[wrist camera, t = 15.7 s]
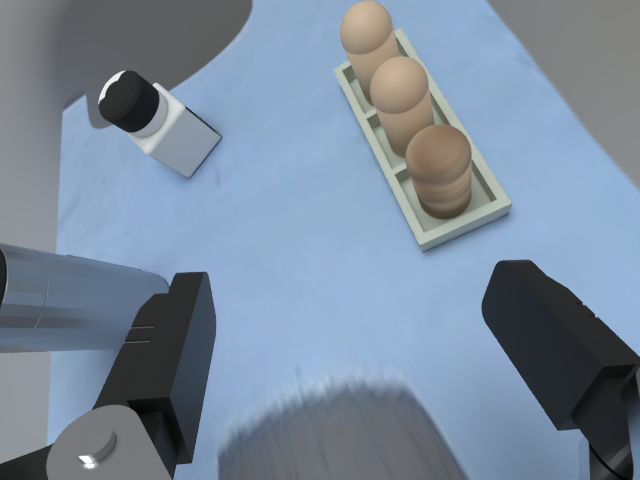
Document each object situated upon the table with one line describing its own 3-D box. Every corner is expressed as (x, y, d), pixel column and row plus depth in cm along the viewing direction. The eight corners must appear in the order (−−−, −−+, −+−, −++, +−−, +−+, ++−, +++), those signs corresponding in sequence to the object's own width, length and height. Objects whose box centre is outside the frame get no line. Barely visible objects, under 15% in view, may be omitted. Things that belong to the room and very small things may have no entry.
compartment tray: (508, 213, 31) (527, 158, 22) (423, 252, 33) (405, 217, 23) (404, 47, 39) (384, -48, 30) (341, 85, 41) (302, 8, 32)
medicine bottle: (223, 137, 46) (149, 77, 36) (189, 179, 47) (107, 133, 36) (194, 113, 50) (119, 52, 39) (163, 153, 50) (80, 103, 39)
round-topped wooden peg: (409, 203, 34) (387, 154, 25) (438, 164, 34) (426, 101, 25) (451, 228, 32) (443, 185, 23) (482, 187, 32) (486, 127, 23)
